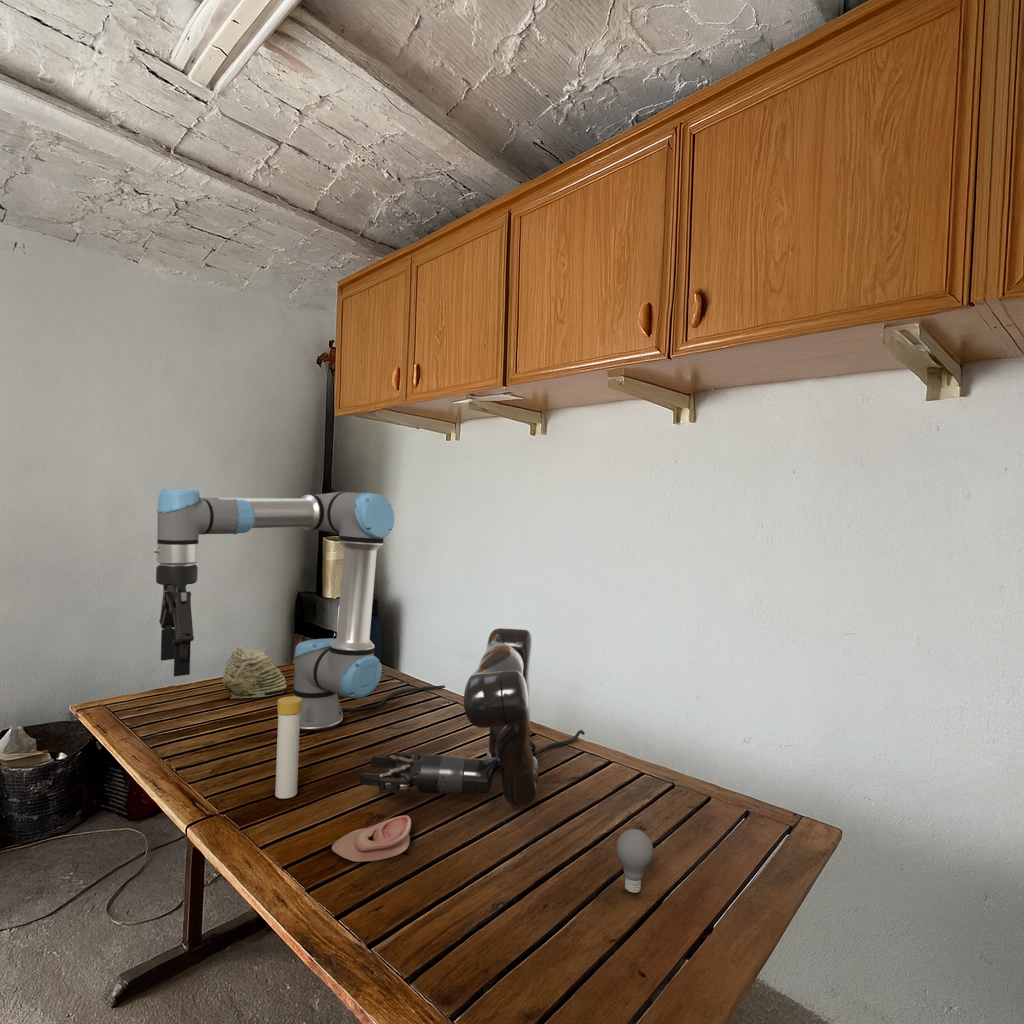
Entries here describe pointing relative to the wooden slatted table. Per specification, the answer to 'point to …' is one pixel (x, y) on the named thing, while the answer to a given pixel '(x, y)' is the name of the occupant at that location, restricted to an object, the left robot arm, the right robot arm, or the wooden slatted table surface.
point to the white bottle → (287, 755)
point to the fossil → (252, 674)
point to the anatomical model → (375, 841)
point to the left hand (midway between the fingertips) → (174, 667)
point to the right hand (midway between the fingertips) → (366, 769)
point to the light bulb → (634, 857)
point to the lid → (289, 705)
